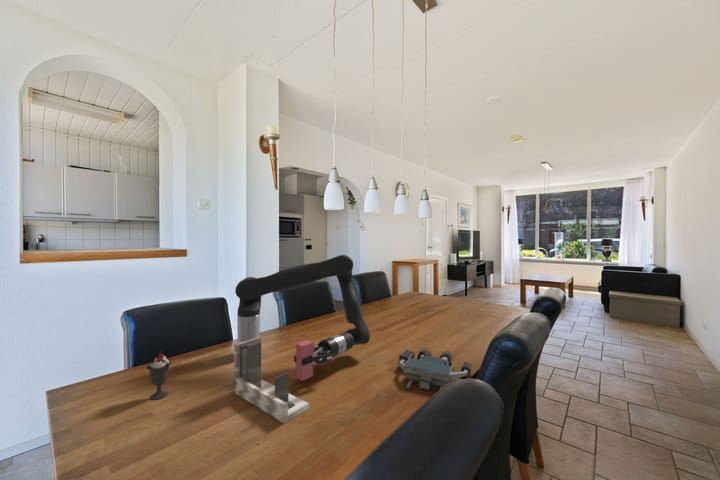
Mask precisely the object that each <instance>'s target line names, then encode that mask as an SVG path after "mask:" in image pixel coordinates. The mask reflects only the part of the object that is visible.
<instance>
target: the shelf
mask: <svg viewBox="0 0 720 480" xmlns="http://www.w3.org/2000/svg"><path fill="white" fill-rule="evenodd" d="M233 345H234V346H233V348H234V349H233V353H234V354H233V360H234V361H233V393H234V394H236V395H238V396H239V397H241V399H244V400H246V401H247V402H249V403H250V404H252V405H254V406H255V407H257V408H258V409H260V410H261V411H263V412H265V413H267V415H269V416H271V417H273V418H274V419H276V420H278V421H279V422H281V423H283V424H286V423H287V422H289V421H291V420H293V419H294V418H296V417H297V416H299V415H301V414H302V413H304V412H306V411H307V410H309V409H310V403H309V402H307V401H305V400H303V399H302V398H301V399H300V398H298V397H297V396H295V395H293V394H291V393H290V392H289V385H290V384H289V379H290V378H289V377H290V374H289V373H290V372H287V371H286V372H284V373H283V374H280V375H277V376H276V377H274V385H273V384H272V383H270V382H267V381H265V380H264V379H263V378H262V338H261V336H260V337H257V338H254V339H250V340H247V341H244V342H240V343H237V342H236V343H235V344H233Z"/></svg>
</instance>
